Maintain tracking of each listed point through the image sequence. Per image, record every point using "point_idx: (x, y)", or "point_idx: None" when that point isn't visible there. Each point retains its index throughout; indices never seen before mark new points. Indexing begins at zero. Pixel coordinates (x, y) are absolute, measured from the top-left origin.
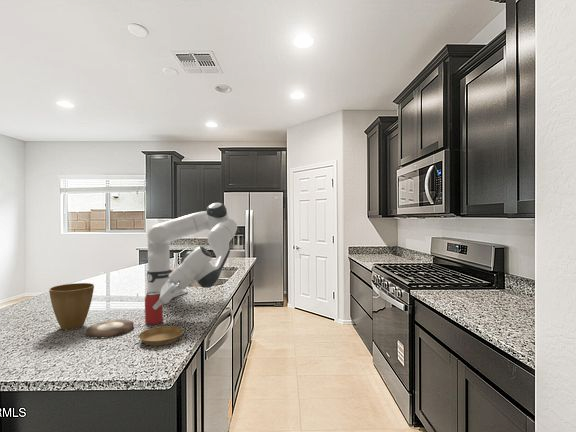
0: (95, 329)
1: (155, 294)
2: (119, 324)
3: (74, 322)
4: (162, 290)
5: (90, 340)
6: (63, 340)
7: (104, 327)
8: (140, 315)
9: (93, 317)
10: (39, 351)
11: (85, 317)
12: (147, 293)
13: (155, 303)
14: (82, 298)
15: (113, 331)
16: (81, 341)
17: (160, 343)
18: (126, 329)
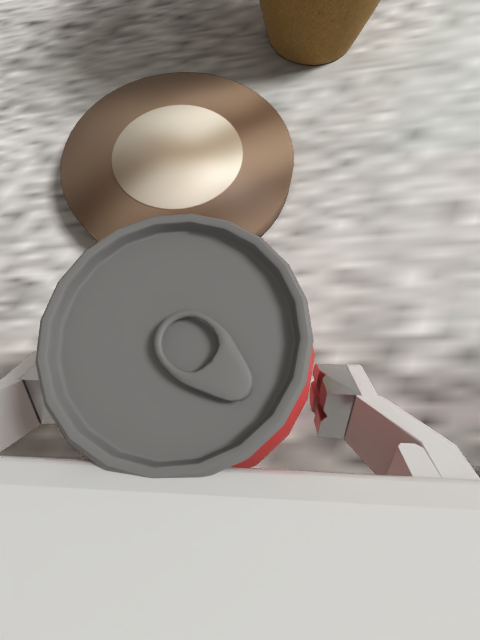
0: (158, 103)
1: (39, 366)
2: (185, 189)
3: (263, 6)
4: (149, 547)
5: (74, 119)
6: (134, 42)
7: (166, 132)
8: (425, 293)
9: (447, 81)
10: (52, 8)
11: (307, 22)
12: (220, 230)
13: (9, 379)
14: None
15: (74, 176)
16: (82, 94)
17: None
18: (89, 232)
